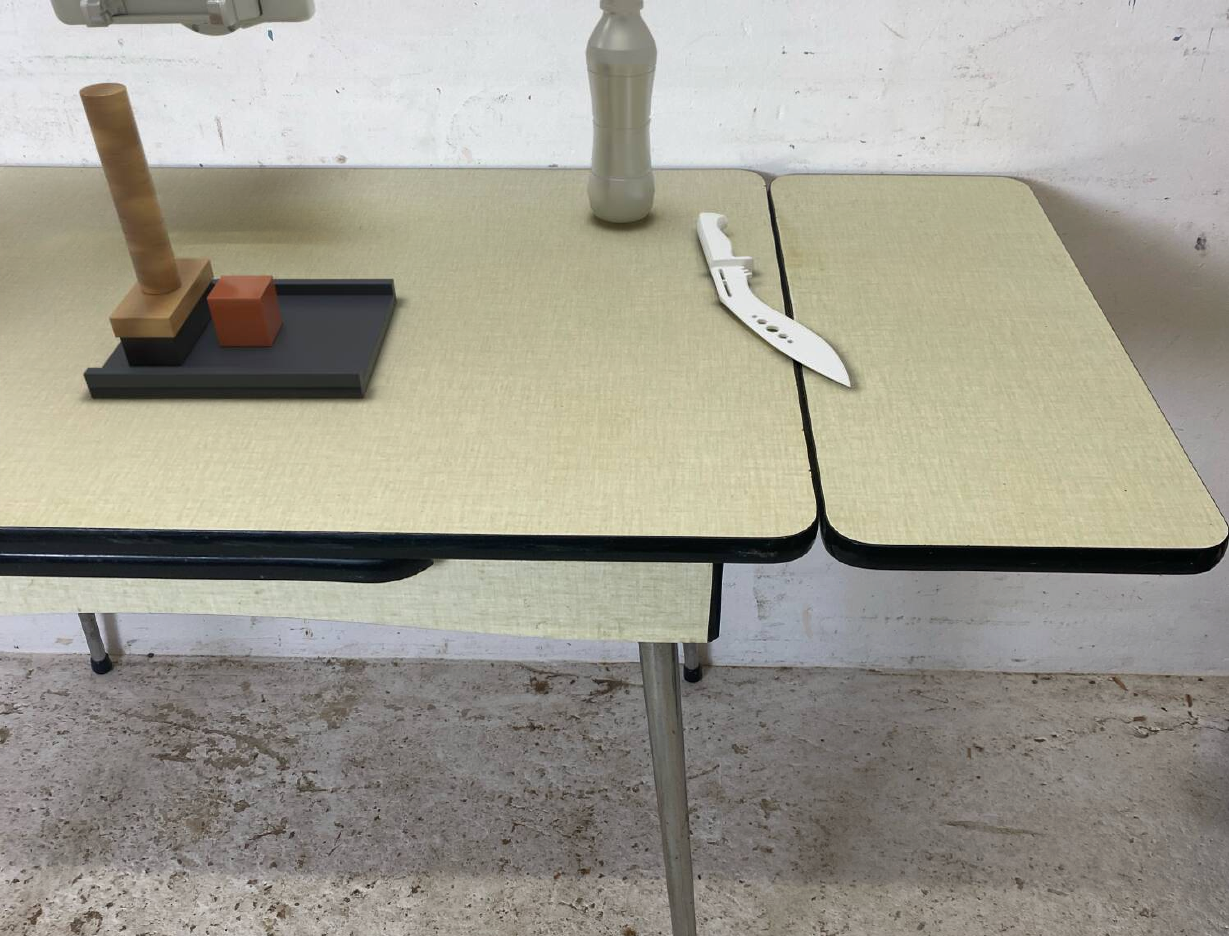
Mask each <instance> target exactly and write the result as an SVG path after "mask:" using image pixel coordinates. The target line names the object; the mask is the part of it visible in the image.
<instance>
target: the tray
mask: <svg viewBox="0 0 1229 936" xmlns="http://www.w3.org/2000/svg"><path fill="white" fill-rule="evenodd" d="M219 279H220V278H213V280H212V283H213V287H214V286H215V285H216V283H217V282H218V280H219ZM273 280H274V284H275V289H276V293H277V298H278V302H279V307H280V311H281V316H282V320H283V324H282V326H281V328H280V330H279V332H278V334H277V336H276V338H275V340H274V342H273V344H272V345H271V346H220V345H219V341H218V338H217V334H216V330H215V327H214V323H213V319H212V317H211V319H210V320H209V322H208V324H207V325H206V327H205V329H204V330H203V332H202V333H201V335H200V337H199V338H198V340H197V341H196V343H195V345H194V346H193V348H192V349H191V351H190V353H189V354H188V356H187V358H186V359H185V361H184V362H183V364H182V365H181V366H129V364H128V361H127V358H126V355H125V352H124V349H123V346H122V343H121V341H119V342H118V345H117V346H116V347H115V348H114V349H113V352H111V354H110V355H109V357H108V358H107V359H106V360H105V362H104V364H103V365H102V366H101V367H87V368H86V370H85V371H84V372H83V373H82V374H83V378H84V381H85V383H86V386H87V388H88V389H87V390H88V392H89V394H90V397H91V398H92V399H333V398H334V399H363V398H364V396H365V393H366V390H367V387H368V384H369V381H370V379H371V376H372V372H373V371H374V367H375V365H376V361H377V359H378V356H379V352H380V350H381V347H382V344H383V341H384V338H385V336H386V333H387V329H388V327H389V324H390V321H391V319H392V315H393V313H394V310H395V307H396V304H397V301H398V300H397V294H396V293H397V292H396V286H395V280H394V278H273Z"/></svg>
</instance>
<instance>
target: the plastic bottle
mask: <svg viewBox="0 0 1229 936" xmlns="http://www.w3.org/2000/svg"><path fill="white" fill-rule="evenodd" d="M644 3H645V2H644V0H599V9H600V10H602V16H601V17H600V18H599V20H598V22H597V23H596V25H595V26H594V28H593V30H592V32H591V34H590V36H589V38H588V40H587V43H586V48H585V63H586V64H585V65H586V69H587V77H588V78H587V79H588V84H589V91H590V101H591V114H592V130H593V132H592V146H591V147H592V148H591V163H590V164H591V166H590V169H589V175H588V182H587V196H588V202H589V206H590V207H589V208H590V209H591V210H592V212H593V213H594V215H595V216H596V217H597V219H600V220H602V221H605V222H610V223H619V224H622V223H623V224H624V223H632V222H636V221H639V220H640V221H641V220H642V219H644V218H645V217H646V216H648V214H649V212H650V211H651V209H652V208H653V204H654V199H655V194H656V185H655V176H654V175H655V174H654V170H653V167H652V154H651V152H652V151H651V150H652V149H651V135H650V133H651V132H650V128H651V126H650V125H651V118H650V117H651V112H652V110H651V109H652V96H653V89H654V81H655V75H656V68H657V66H656V65H657V63H658V62H657V61H658V49H657V44H656V41H655V38H654V36H653V35H652V32H651V30H650V28H649V27H648V25H647V24H646V21H645V20H644V18H643V17H642V14H641V10H643V9H644Z"/></svg>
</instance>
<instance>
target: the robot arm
mask: <svg viewBox="0 0 1229 936" xmlns="http://www.w3.org/2000/svg"><path fill="white" fill-rule="evenodd" d="M49 1H50V4H51V7H52V9H53V11H54V14H55V16H56V18H57V19H58V20H59V21H60V22H61V23H62V24H64V25H67V26H86V27H87V28H108V27H109V26H111V25H166V24H167V25H168V24H169V25H170V24H171V25H172V24H175V25H177V24H179V25H182V26H183V27H185V28H186V29H188V30H190V31H193V32H195V33H197V34H200V35H204V36H211V37H220V36H226V35H230V34H232V33H234V32H236V31H238V30H239V29H242V30H246V29H249V28H252V27H255V26H257V25H261V24H265V23H303V22H307V21H310V20H311V19H312V18H313V17H314V15H315V13H316V6H315V5H316V4H315V0H49Z"/></svg>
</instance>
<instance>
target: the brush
mask: <svg viewBox="0 0 1229 936" xmlns="http://www.w3.org/2000/svg"><path fill="white" fill-rule="evenodd" d="M78 93H79V97H80V100H81V104H82V106H83V110H84V112H85V113H84V114H85V116H86V120H87V122H88V125H89V128H90V132H91V136H92V139H93V141H94V145H95V148H96V151H97V155H98V158H99V162H100V164H101V167H102V171H103V174H104V177H105V180H106V184H107V186H108V189H109V192H110V193H109V194H110V197H111V200H112V203H113V206H114V209H115V212H116V215H117V218H118V219H117V220H118V222H119V225H120V228H121V231H122V235H123V238H124V240H125V241H124V242H125V244H126V247H127V251H128V254H129V257H130V260H131V264H132V267H133V270H134V273H135V276H136V279H137V281H136V282H135V284H134V285H133V286H132V288H131V289H130V290H129V291H128V292H127V294H126V295H125V296H124V297H123V299H122V300H121V301H120V303H118V306H117V307H116V308H115V309H114V310H113V311H112V313H111V315H110V316H108V319H109V322H110V323H109V324H110V326H111V329H112V331H113V335H114V337H115V338H119V341H120V342H121V343H122V346H123V349H124V352H125V355H126V358H127V361H128V364H129V366H181V365H182V364H183V362H184V361H185V359H186V358H187V356H188V354H189V353H190V351H191V349H192V348H193V346H194V345H195V343H196V341H197V340H198V338H199V337H200V335H201V333H202V332H203V330H204V329H205V327H206V325H207V324H208V322H209V320H210V319H211V317H212V315H211V312H210V308H209V304H208V301H207V297H208V296H209V294H210V292H211V291H212V289H213V288H214V287H213V283H212V280H213V279H215V274H214V271H213V266H212V263H211V259H210V258H209V257H208V258H206V257H205V258H204V257H203V258H202V257H200V258H199V257H198V258H191V257H190V258H189V257H188V258H184V257H183V258H180V257H179V258H178V257H177V258H176V257H175V254H174V250H173V247H172V244H171V239H170V237H169V233H168V230H167V226H166V223H165V219H164V216H163V212H162V211H163V210H162V208H161V205H160V201H159V198H158V193H157V190H156V187H155V184H154V180H153V175H152V174H151V170H150V167H149V163H148V159H147V156H146V151H145V148H144V145H143V141H142V137H141V134H140V130H139V127H138V124H137V121H136V117H135V113H134V110H133V106H132V102H131V99H130V95H129V92H128V88H127V86H126V85H125V84H122V83H119V82H99V83H95V84H90V85H86V86H84V87H82V88H81V89H80V90H79V91H78Z"/></svg>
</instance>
